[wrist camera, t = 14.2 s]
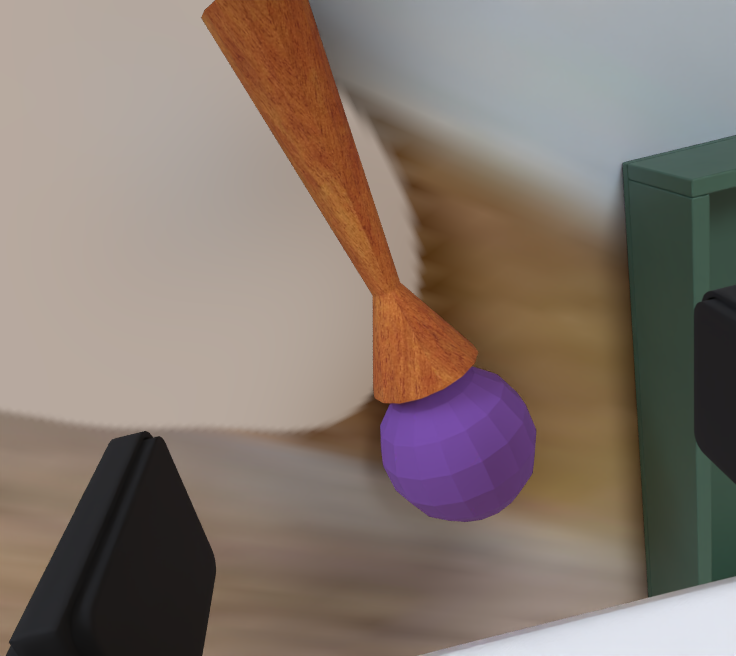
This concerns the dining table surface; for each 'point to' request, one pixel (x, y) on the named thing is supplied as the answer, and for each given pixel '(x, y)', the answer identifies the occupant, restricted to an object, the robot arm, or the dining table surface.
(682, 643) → the robot arm
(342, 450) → the dining table surface
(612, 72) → the dining table surface
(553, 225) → the dining table surface
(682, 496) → the tray
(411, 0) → the dining table surface
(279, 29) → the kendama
